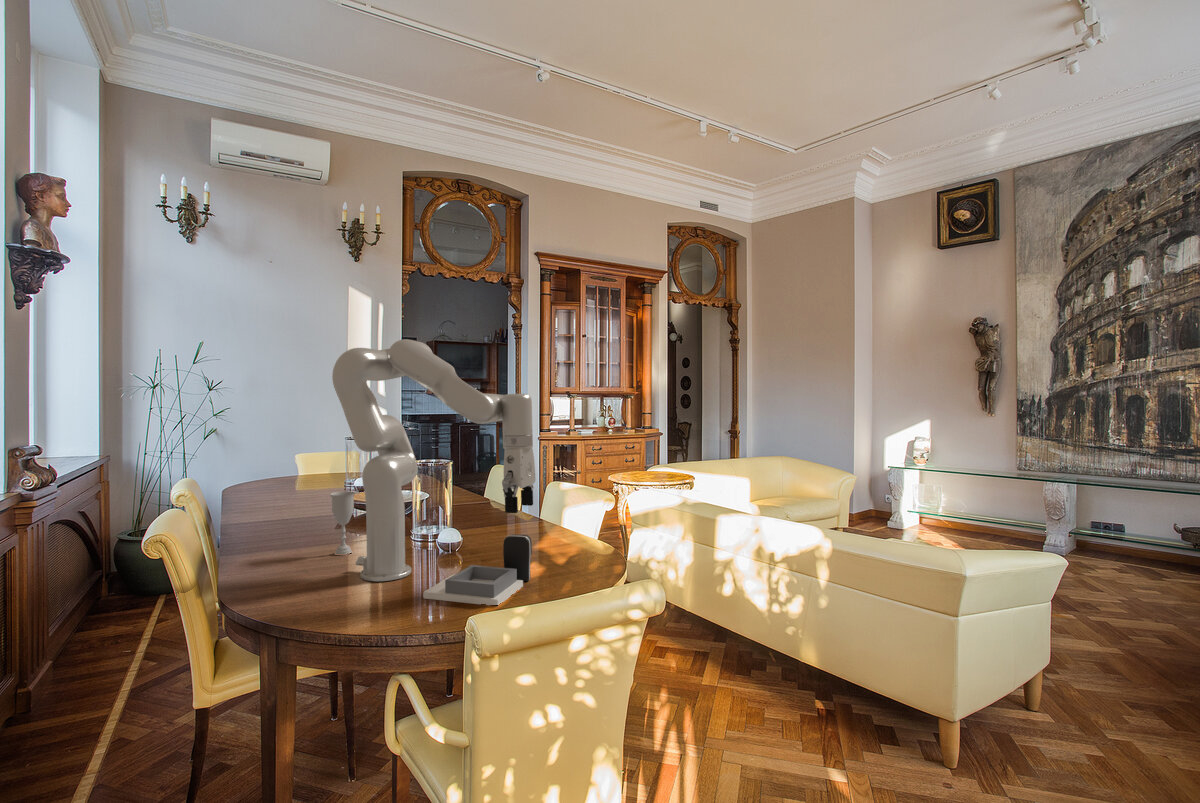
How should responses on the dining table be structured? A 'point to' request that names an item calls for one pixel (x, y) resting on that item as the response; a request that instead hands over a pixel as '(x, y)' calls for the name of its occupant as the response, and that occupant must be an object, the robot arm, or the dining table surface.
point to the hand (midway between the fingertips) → (519, 508)
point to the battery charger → (518, 555)
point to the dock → (477, 586)
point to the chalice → (343, 515)
